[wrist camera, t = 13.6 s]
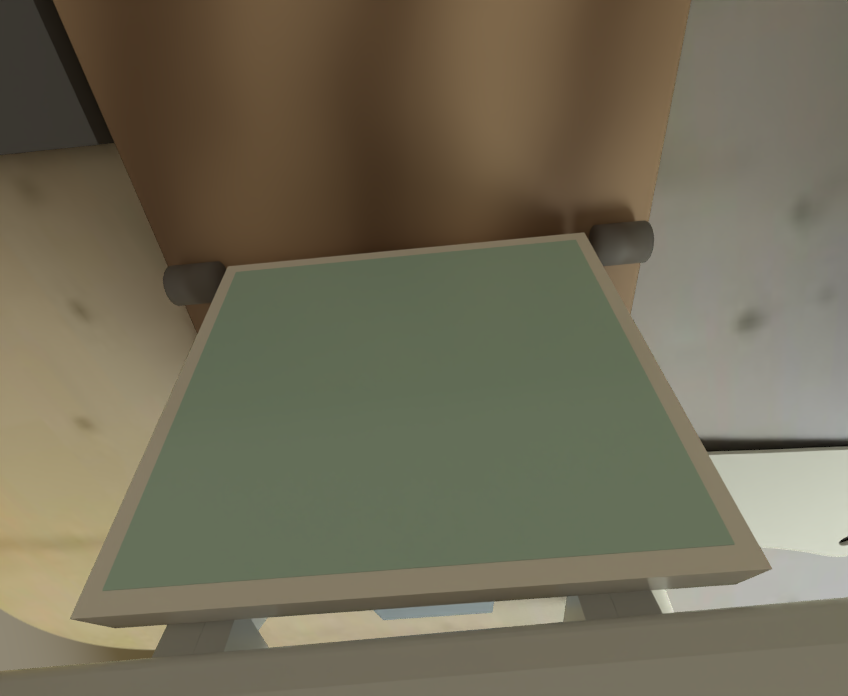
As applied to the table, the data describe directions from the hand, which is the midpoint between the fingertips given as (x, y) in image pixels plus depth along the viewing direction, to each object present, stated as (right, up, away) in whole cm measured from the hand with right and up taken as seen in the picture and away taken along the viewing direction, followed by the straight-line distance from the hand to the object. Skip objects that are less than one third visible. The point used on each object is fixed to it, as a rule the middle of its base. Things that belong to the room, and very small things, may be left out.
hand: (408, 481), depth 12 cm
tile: (0, +3, -1) cm, 3 cm away
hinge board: (0, +10, +2) cm, 11 cm away
